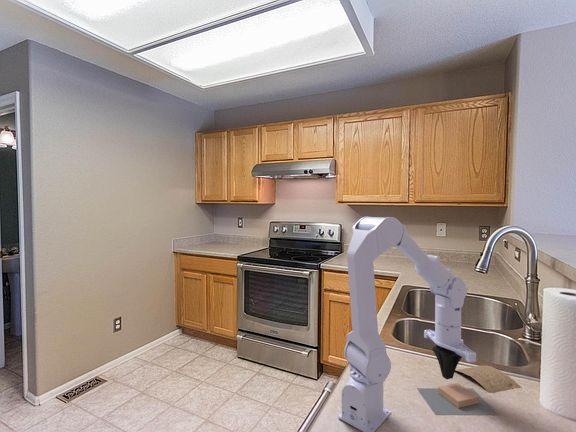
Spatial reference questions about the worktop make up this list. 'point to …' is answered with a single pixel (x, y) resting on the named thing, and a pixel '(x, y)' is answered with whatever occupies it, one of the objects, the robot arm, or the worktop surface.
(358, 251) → the robot arm
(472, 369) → the clay tablet
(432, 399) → the mat
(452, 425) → the worktop surface
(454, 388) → the tile
